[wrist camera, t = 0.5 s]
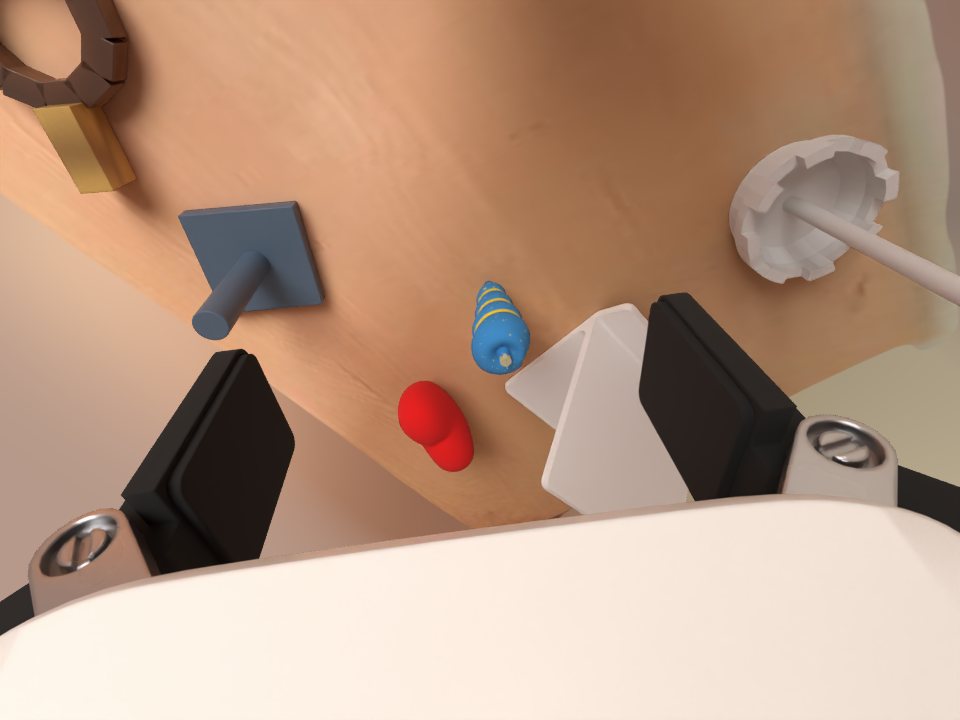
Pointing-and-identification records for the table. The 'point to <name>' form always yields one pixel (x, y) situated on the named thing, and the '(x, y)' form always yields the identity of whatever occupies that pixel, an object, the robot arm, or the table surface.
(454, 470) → the heart
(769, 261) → the flag stand
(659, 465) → the tablet stand
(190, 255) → the table surface
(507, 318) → the ornament
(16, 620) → the robot arm
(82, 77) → the walnut ring
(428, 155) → the table surface
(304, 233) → the peg rack
